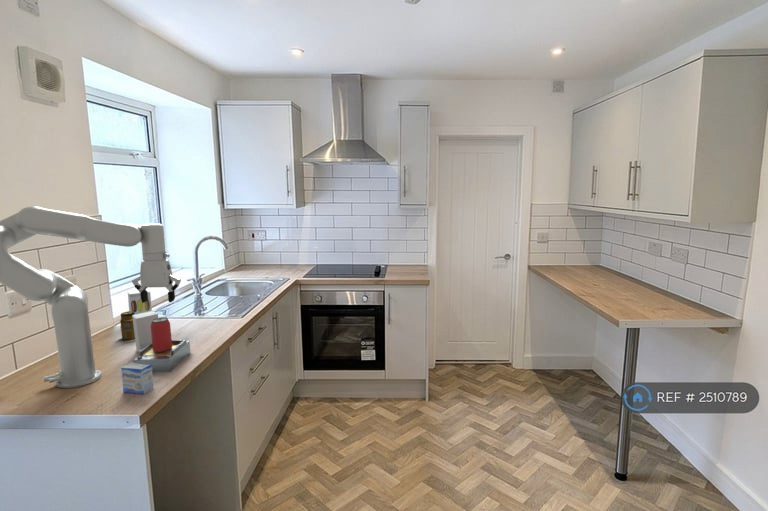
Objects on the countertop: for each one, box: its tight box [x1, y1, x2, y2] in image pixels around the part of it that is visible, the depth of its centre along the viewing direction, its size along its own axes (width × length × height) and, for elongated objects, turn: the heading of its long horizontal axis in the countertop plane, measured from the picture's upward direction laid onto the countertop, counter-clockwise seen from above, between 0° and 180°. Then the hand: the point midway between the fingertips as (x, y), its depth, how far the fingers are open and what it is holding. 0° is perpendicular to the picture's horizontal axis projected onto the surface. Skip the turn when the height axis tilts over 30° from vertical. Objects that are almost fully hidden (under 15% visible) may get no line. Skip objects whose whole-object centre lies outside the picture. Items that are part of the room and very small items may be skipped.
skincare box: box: [132, 310, 159, 353], centre depth 166 cm, size 8×7×16 cm
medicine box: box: [120, 362, 154, 395], centre depth 132 cm, size 8×4×9 cm, turn 80°
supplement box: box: [127, 287, 153, 315], centre depth 201 cm, size 10×9×17 cm
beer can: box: [151, 316, 173, 352], centre depth 153 cm, size 7×7×12 cm
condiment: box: [114, 310, 135, 343], centre depth 179 cm, size 7×8×12 cm
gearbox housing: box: [133, 339, 191, 373], centre depth 155 cm, size 18×12×7 cm
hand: (158, 301), depth 152 cm, fingers open, 9 cm apart
